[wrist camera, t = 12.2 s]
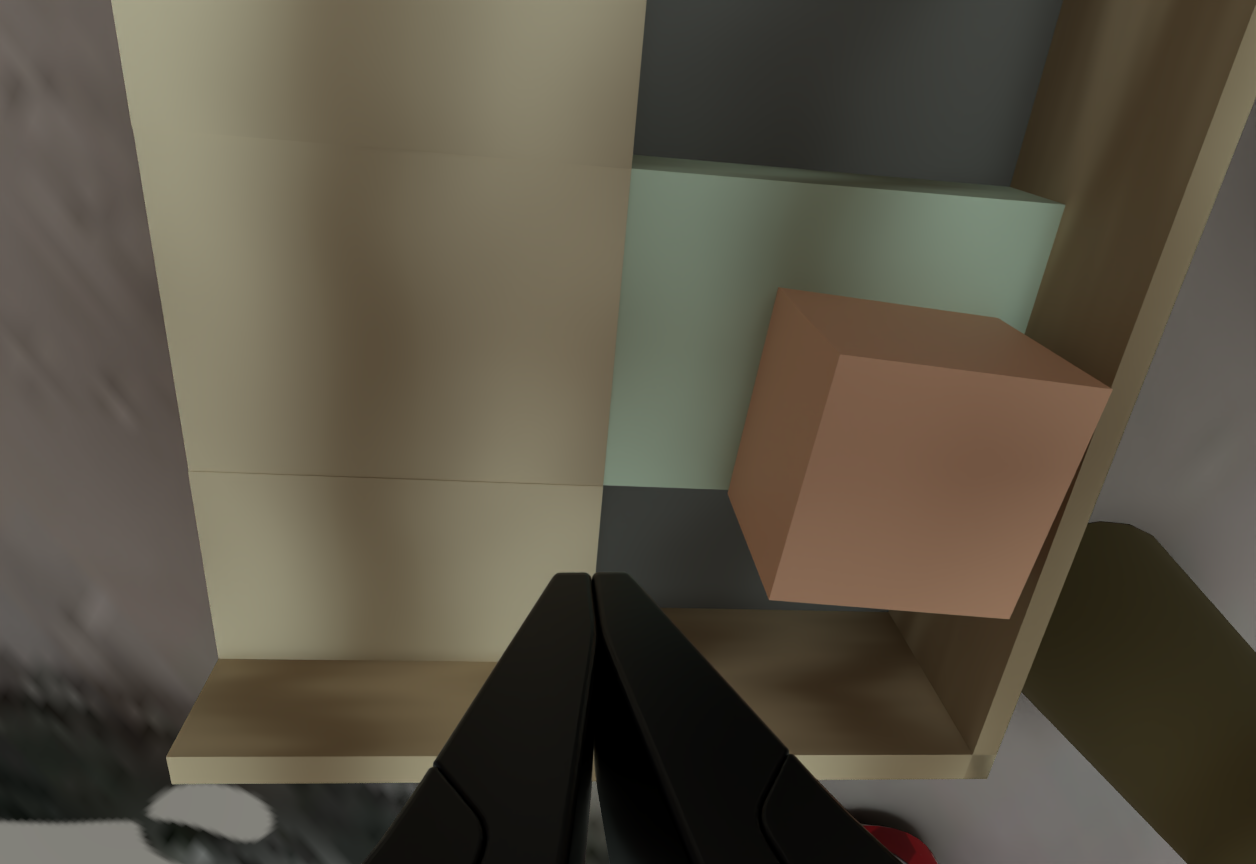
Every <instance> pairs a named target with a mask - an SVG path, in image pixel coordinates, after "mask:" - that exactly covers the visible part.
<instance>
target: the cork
mask: <svg viewBox="0 0 1256 864" xmlns="http://www.w3.org/2000/svg"><path fill="white" fill-rule="evenodd" d="M1021 692H1022V693H1023V694H1024V695H1025V696H1026V697H1027V698H1028V699H1029V700H1030V701H1031V702H1032V703H1033V704H1034V705H1035V707H1036V708H1037V709H1038V710H1039V711H1040V712H1041V713H1042V714H1043V715H1044V716H1045V717H1046V718H1047V719H1048V720H1049V721H1050V722H1051V723H1052V724H1053V725H1054V726H1055V727H1056V728H1057V729H1058V730H1059V731H1060V732H1061V733H1062V734H1063V735H1064V737H1065V738H1066V739H1067V740H1068V741H1069V742H1070V743H1071V744H1072V745H1073V746H1074V747H1075V748H1076V749H1077V750H1078V751H1079V752H1080V753H1081V754H1082V755H1083V756H1084V757H1085V758H1086V759H1087V760H1088V761H1089V762H1090V763H1091V764H1092V765H1093V767H1094V768H1095V769H1096V770H1097V771H1098V772H1099V773H1100V774H1101V775H1102V776H1103V777H1104V778H1105V779H1106V780H1107V781H1108V782H1109V783H1110V784H1111V785H1112V786H1113V787H1114V788H1115V789H1116V790H1117V791H1118V792H1119V793H1120V794H1121V796H1122V797H1123V798H1124V799H1125V800H1126V801H1127V802H1128V803H1129V804H1130V805H1131V806H1132V807H1133V808H1134V809H1135V810H1136V811H1137V812H1138V813H1139V814H1140V815H1141V816H1142V817H1143V818H1144V819H1145V820H1146V821H1147V822H1148V823H1149V824H1150V826H1151V827H1152V828H1153V829H1154V830H1155V831H1156V832H1157V833H1158V834H1159V835H1160V836H1161V837H1162V838H1163V839H1164V840H1165V841H1166V842H1167V843H1168V844H1169V845H1170V846H1171V847H1172V848H1173V849H1174V850H1175V851H1176V852H1177V853H1178V854H1179V856H1180V857H1181V858H1182V859H1183V860H1184V861H1185V862H1186V863H1187V864H1256V652H1255V651H1254V650H1253V649H1252V648H1251V647H1250V645H1249V644H1248V643H1247V642H1246V641H1245V640H1244V639H1243V638H1242V636H1241V635H1240V634H1239V633H1238V632H1237V631H1236V630H1235V628H1234V627H1233V626H1232V625H1231V624H1230V623H1229V622H1228V620H1227V619H1226V618H1225V617H1224V616H1223V615H1222V614H1221V613H1220V611H1219V610H1218V609H1217V608H1216V607H1215V606H1214V605H1213V603H1212V602H1211V601H1210V600H1209V599H1208V598H1207V597H1206V596H1205V594H1204V593H1203V592H1202V591H1201V590H1200V589H1199V588H1198V586H1197V585H1196V584H1195V583H1194V582H1193V581H1192V580H1191V579H1190V577H1189V576H1188V575H1187V574H1186V573H1185V572H1184V571H1183V569H1182V568H1181V567H1180V566H1179V565H1178V564H1177V563H1176V562H1175V560H1174V559H1173V558H1172V557H1171V556H1170V555H1169V554H1168V552H1167V551H1166V550H1165V549H1164V548H1163V547H1162V546H1161V544H1160V543H1159V542H1158V541H1157V540H1156V539H1155V538H1154V537H1153V536H1152V535H1150V534H1148V533H1146V532H1144V531H1142V530H1140V529H1138V528H1136V527H1134V526H1132V525H1129V524H1120V523H1110V522H1095V523H1090V524H1087V527H1086V529H1085V532H1084V534H1083V537H1082V539H1081V542H1080V544H1079V547H1078V549H1077V552H1076V554H1075V557H1074V559H1073V562H1072V565H1071V567H1070V570H1069V572H1068V575H1067V577H1066V580H1065V582H1064V585H1063V587H1062V590H1061V592H1060V595H1059V597H1058V600H1057V603H1056V605H1055V608H1054V610H1053V613H1052V615H1051V618H1050V620H1049V623H1048V625H1047V628H1046V630H1045V633H1044V635H1043V638H1042V641H1041V643H1040V646H1039V648H1038V651H1037V653H1036V656H1035V658H1034V661H1033V663H1032V666H1031V668H1030V671H1029V673H1028V676H1027V679H1026V681H1025V684H1024V686H1023V689H1022V691H1021Z"/></svg>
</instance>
